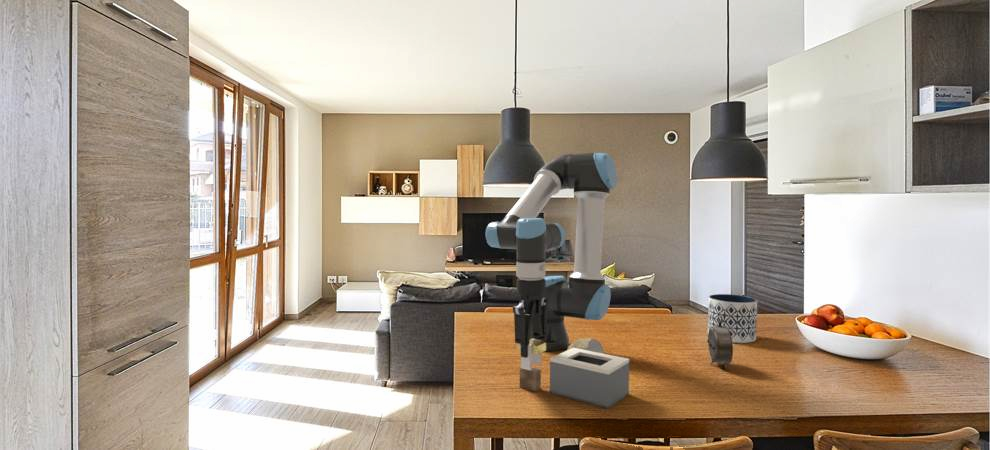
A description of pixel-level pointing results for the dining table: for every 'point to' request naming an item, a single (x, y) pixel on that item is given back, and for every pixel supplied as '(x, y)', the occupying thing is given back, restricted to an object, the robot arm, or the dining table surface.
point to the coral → (587, 345)
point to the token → (535, 346)
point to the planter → (734, 315)
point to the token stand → (530, 379)
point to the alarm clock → (720, 344)
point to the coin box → (589, 377)
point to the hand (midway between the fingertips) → (531, 366)
